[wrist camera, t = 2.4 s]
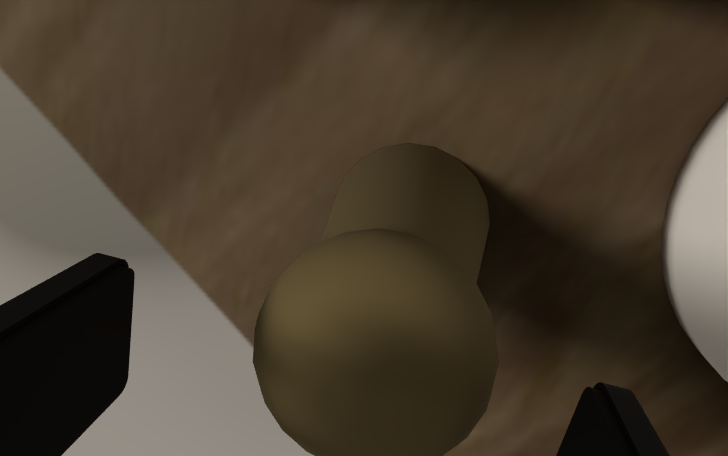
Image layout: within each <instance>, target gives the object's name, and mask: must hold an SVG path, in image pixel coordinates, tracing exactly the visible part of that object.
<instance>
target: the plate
mask: <svg viewBox="0 0 728 456" xmlns="http://www.w3.org/2000/svg"><path fill="white" fill-rule="evenodd" d="M661 259H662V269H663V279H664V282H665V286H666V290H667V293H668V297H669V301H670V303H671V306H672V308H673V310H674V312H675V314H676V317H677V319H678V321H679V323H680V325H681V326H682V328H683V329H684V331H685V332H686V334H687V336H688V337H689V339H690V340H691V342H692V343H693V344H694V345H695V347H696V348H697V349H698V350H699V351H700V353H701V354H702V355H703V356H704V357H705V359H706V360H707V361H708V362H709V363H710V364H711V365H712V367H713V368H714V369H715V370H716V371H717V372H718V373H719V374H720V375H721V377H722V378H723V379H724V380H725V381H727V382H728V98H727V99H726V100H725V101H724V103H723V104H722V105H721V106H720V107H719V109H718V110H717V111H716V112H715V113H714V114H713V116H712V117H711V118H710V119H709V120H708V122H707V123H706V125H705V126H704V128H703V129H702V131H701V132H700V134H699V135H698V137H697V138H696V140H695V141H694V143H693V144H692V146H691V147H690V149H689V151H688V153H687V155H686V157H685V159H684V161H683V163H682V165H681V167H680V169H679V171H678V173H677V176H676V179H675V181H674V184H673V187H672V190H671V193H670V196H669V199H668V202H667V207H666V212H665V217H664V222H663V227H662V242H661Z"/></svg>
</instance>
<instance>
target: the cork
mask: <svg viewBox="0 0 728 456" xmlns="http://www.w3.org/2000/svg"><path fill="white" fill-rule="evenodd" d="M489 226H490V219H489V211H488V203H487V198H486V196H485V194H484V192H483V190H482V188H481V186H480V184H479V182H478V180H477V178H476V176H475V175H474V174H473V173H472V172H471V171H470V170H469V169H468V168H467V167H466V166H465V165H464V164H463V163H462V162H461V161H460V160H459V159H458V158H456V157H454V156H452V155H450V154H448V153H446V152H444V151H442V150H440V149H438V148H436V147H432V146H425V145H418V144H412V143H407V144H401V145H395V146H388V147H383V148H382V149H380V150H378V151H376V152H374V153H372V154H370V155H368V156H366V157H364V158H362V159H361V160H360V161H359V162H358V163H357V164H356V165H355V167H354V168H353V169H352V170H351V171H350V172H349V173H348V174H347V175H346V176H345V178H344V180H343V182H342V184H341V186H340V189H339V191H338V193H337V195H336V197H335V200H334V203H333V206H332V209H331V213H330V216H329V219H328V222H327V225H326V228H325V231H324V234H323V237H322V240H321V243H319V244H317V245H315V246H312V247H310V248H308V249H306V250H304V251H303V252H302V253H301V254H300V255H299V256H298V257H297V258H296V259H295V260H294V261H293V262H292V263H291V264H290V265H289V266H288V267H287V268H286V269H285V271H284V272H283V273H282V274H281V275H280V276H279V277H278V278H277V279H276V280H275V282H274V283H273V284H272V285H271V288H270V290H269V292H268V294H267V297H266V299H265V301H264V303H263V306H262V308H261V310H260V312H259V315H258V318H257V323H256V327H255V335H254V351H253V364H254V367H255V371H256V374H257V378H258V381H259V385H260V388H261V392H262V395H263V398H264V401H265V404H266V405H267V407H268V408H269V410H270V412H271V413H272V415H273V416H274V418H275V419H276V421H277V422H278V424H279V425H280V427H281V428H282V430H283V431H284V432H285V433H286V434H288V435H289V436H290V437H291V438H292V439H293V440H294V441H296V442H297V443H298V444H299V445H300V446H301V447H302V448H303V449H304V450H306V451H307V452H309V453H311V454H313V455H315V456H443V455H444V454H445V453H447V452H448V451H450V450H451V449H452V448H454V447H455V446H457V445H458V444H459V443H461V442H462V441H463V440H464V439H466V438H467V437H468V435H469V434H470V433H471V431H472V430H473V428H474V427H475V425H476V424H477V423H478V421H479V420H480V418H481V417H482V416H483V414H484V413H485V411H486V409H487V406H488V403H489V400H490V396H491V393H492V389H493V385H494V380H495V376H496V372H497V368H498V364H499V360H498V352H497V344H496V336H495V329H494V323H493V317H492V313H491V311H490V309H489V307H488V305H487V303H486V301H485V299H484V297H483V296H482V294H481V292H480V290H479V288H478V286H477V279H478V275H479V271H480V266H481V262H482V257H483V253H484V249H485V244H486V240H487V235H488V230H489Z"/></svg>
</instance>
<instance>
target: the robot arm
mask: <svg viewBox="0 0 728 456" xmlns="http://www.w3.org/2000/svg"><path fill="white" fill-rule="evenodd" d="M133 292H134V271H133V270H132V269H131V268H129V267H128V263H127V262H126V261H125V260H124V259H120V258H116V257H112V256H108V255H104V254H100V253H96V254H93V255H91V256H89V257H88V258H86V259H84V260H82V261H80V262H79V263H77V264H75V265H73V266H71V267H69V268H68V269H66V270H64V271H62V272H60V273H58V274H57V275H55V276H53V277H51V278H50V279H48V280H46V281H44V282H42V283H40V284H38V285H37V286H35V287H33V288H31V289H30V290H28V291H26V292H24V293H22V294H20V295H19V296H17V297H15V298H13V299H11V300H9V301H8V302H6V303H4V304H2V305H0V456H61V455H62V454H63V453H64V452H65V451H66V450H67V449H68V448H69V447H70V446H71V445H72V444H73V443H74V442H75V441H76V440H77V439H78V438H79V437H80V436H81V435H82V434H83V433H84V432H85V431H86V429H87V428H88V427H89V426H90V425H91V424H92V423H93V422H94V421H95V420H96V419H97V418H98V417H99V416H100V415H101V414H102V413H103V412H104V411H105V410H106V409H107V408H108V407H109V406H110V405H111V404H112V403H113V402H114V400H115V399H117V397H118V396H119V395H120V394H121V393H122V391H123V390H124V388H125V386H126V383H127V380H128V370H129V354H130V338H131V323H132V308H133ZM556 456H669V454H668V452H667V451H666V449H665V447H664V445H663V444H662V442H661V440H660V438H659V437H658V435H657V433H656V432H655V430H654V428H653V426H652V425H651V423H650V421H649V419H648V418H647V416H646V414H645V413H644V411H643V409H642V407H641V406H640V404H639V402H638V400H637V399H636V397H635V395H634V394H633V392H632V391H631V390H628V389H624V388H620V387H617V386H613V385H609V384H605V383H601V382H599V383H597V384H596V385H595V386H594V388H591V387H587V388H585V390H584V391H583V393H582V395H581V398H580V400H579V402H578V405H577V407H576V410H575V412H574V414H573V417H572V419H571V422H570V424H569V426H568V429H567V431H566V434H565V436H564V438H563V441H562V443H561V446H560V448H559V450H558V453H557V455H556Z"/></svg>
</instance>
